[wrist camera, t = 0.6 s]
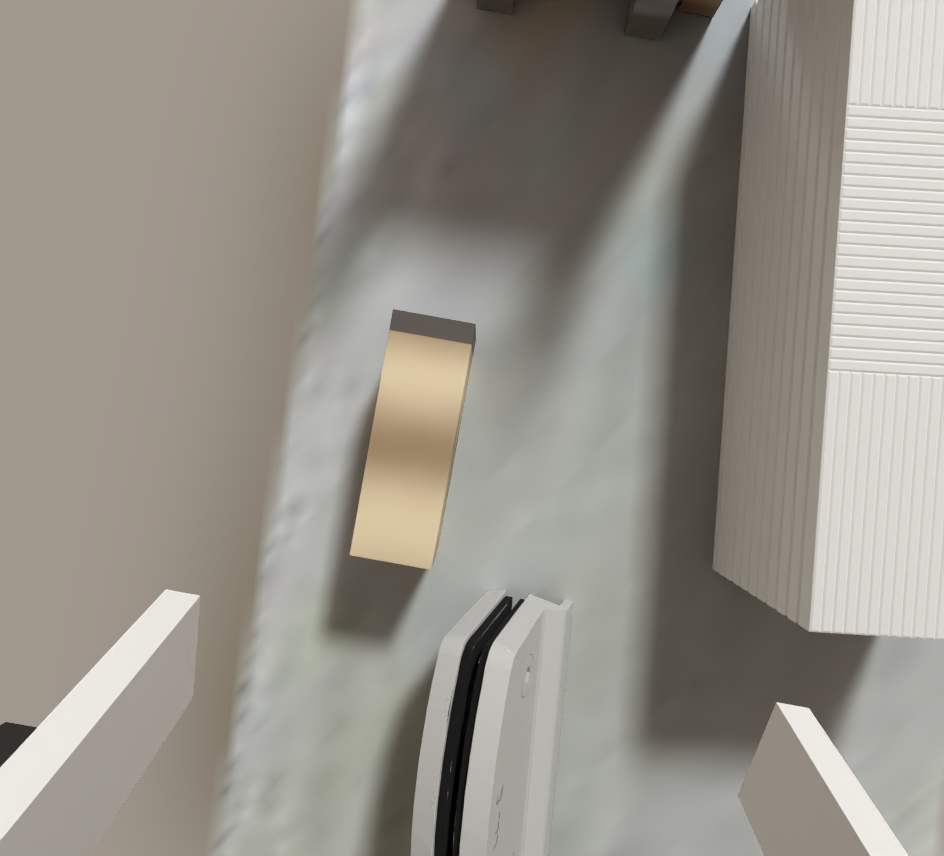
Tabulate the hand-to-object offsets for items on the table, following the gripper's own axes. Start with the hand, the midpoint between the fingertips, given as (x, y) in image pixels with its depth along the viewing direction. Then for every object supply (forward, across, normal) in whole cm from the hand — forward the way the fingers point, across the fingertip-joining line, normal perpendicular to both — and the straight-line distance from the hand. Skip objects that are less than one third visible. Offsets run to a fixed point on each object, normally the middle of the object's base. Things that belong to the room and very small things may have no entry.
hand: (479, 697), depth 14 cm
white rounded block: (+18, -4, +17) cm, 25 cm away
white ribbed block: (+26, -18, -10) cm, 33 cm away
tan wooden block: (+22, +3, +2) cm, 23 cm away
